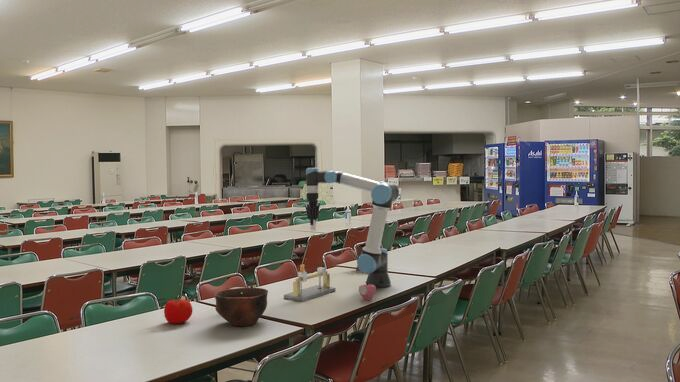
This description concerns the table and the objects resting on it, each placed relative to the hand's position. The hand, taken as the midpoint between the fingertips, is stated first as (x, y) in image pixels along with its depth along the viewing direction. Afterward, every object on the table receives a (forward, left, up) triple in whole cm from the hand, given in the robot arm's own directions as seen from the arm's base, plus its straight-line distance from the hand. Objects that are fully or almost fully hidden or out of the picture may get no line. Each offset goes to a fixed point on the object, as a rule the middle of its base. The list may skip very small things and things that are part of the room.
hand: (313, 230), depth 342 cm
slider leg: (-16, +30, -32) cm, 47 cm away
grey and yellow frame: (-15, +22, -34) cm, 44 cm away
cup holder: (+2, -60, -35) cm, 69 cm away
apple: (-50, +15, -35) cm, 63 cm away
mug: (-4, +66, -35) cm, 75 cm away
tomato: (+2, +101, -35) cm, 107 cm away
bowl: (-25, +85, -35) cm, 95 cm away
